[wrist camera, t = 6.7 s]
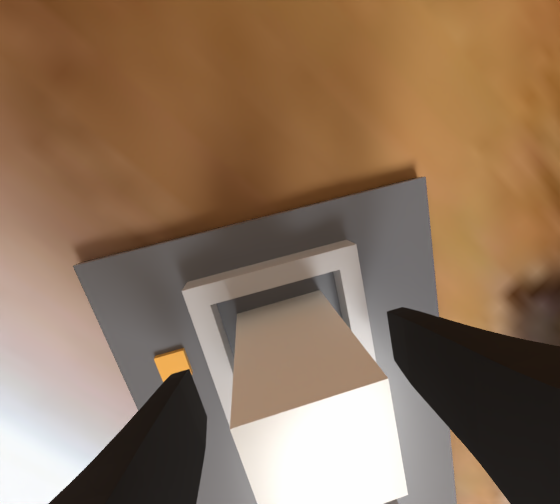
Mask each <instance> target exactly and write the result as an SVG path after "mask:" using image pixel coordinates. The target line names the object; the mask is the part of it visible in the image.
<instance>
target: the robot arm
mask: <svg viewBox="0 0 560 504" xmlns="http://www.w3.org/2000/svg"><path fill="white" fill-rule="evenodd" d="M387 317H388V324H389V331H390V337H391V344H392V351H393V358H394V361H395V362H396V364H397V365H398V367H399V368H400V370H401V371H402V372H403V374H404V375H405V377H406V378H407V380H408V381H409V382H410V384H411V385H412V386H413V387H414V389H415V390H416V391H417V392H418V393H419V394H420V395H421V397H422V398H423V399H424V400H425V401H426V402H427V403H428V405H429V406H430V407H431V408H432V409H433V410H434V411H435V412H436V414H437V415H438V416H439V417H440V418H441V419H442V420H443V421H444V422H445V424H446V425H447V426H448V427H449V428H450V429H451V430H452V431H453V433H454V434H455V435H456V436H457V437H458V438H459V439H460V440H461V442H462V443H463V444H464V445H465V446H466V447H467V448H468V450H469V451H470V452H471V453H472V454H473V456H474V457H475V458H476V459H477V460H478V462H479V463H480V464H481V465H482V467H483V468H484V469H485V471H486V472H487V473H488V475H489V476H490V477H491V478H492V480H493V481H494V482H495V484H496V485H497V486H498V488H499V489H500V490H501V492H502V493H503V494H504V496H505V497H506V498H507V500H508V501H509V502H510V503H511V504H560V347H559V346H554V345H549V344H544V343H539V342H533V341H528V340H524V339H519V338H515V337H510V336H506V335H502V334H498V333H494V332H490V331H486V330H482V329H479V328H475V327H471V326H468V325H464V324H461V323H457V322H454V321H451V320H447V319H444V318H441V317H437V316H434V315H431V314H427V313H424V312H420V311H417V310H413V309H409V308H405V307H401V308H397V309H394V310H390V311H387ZM206 434H207V415H206V412H205V409H204V407H203V404H202V401H201V399H200V396H199V393H198V391H197V388H196V385H195V383H194V380H193V377H192V375H191V372H190V369H187V370H184V371H180V372H177V373H173V374H171V375H170V376H169V377H168V378H167V379H166V380H165V381H164V382H163V383H162V385H161V386H160V387H159V388H158V389H157V390H156V391H155V392H154V394H153V395H152V396H151V397H150V398H149V399H148V401H147V402H146V403H145V404H144V405H143V406H142V407H141V408H140V410H139V411H138V412H137V413H136V414H135V415H134V416H133V418H132V419H131V420H130V421H129V422H128V423H127V424H126V426H125V427H124V428H123V429H122V430H121V431H120V432H119V433H118V434H117V435H116V436H115V437H114V438H113V439H112V441H111V442H110V443H109V444H108V445H107V446H106V447H105V448H104V449H103V450H102V451H101V452H100V453H99V454H98V456H97V457H96V458H95V459H94V460H93V461H92V462H91V463H90V464H89V465H88V466H87V467H86V468H85V469H84V470H83V471H82V472H81V473H80V474H79V475H78V476H77V477H76V478H75V479H74V480H73V481H72V482H71V483H70V484H69V485H68V486H67V487H66V488H65V489H64V490H62V491H61V492H60V493H59V494H58V495H57V496H56V497H55V498H54V499H53V500H52V501H51V502H50V503H49V504H196V503H197V497H198V491H199V486H200V480H201V474H202V468H203V462H204V456H205V449H206Z"/></svg>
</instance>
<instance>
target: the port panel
mask: <svg viewBox="0 0 560 504" xmlns="http://www.w3.org/2000/svg"><path fill="white" fill-rule="evenodd" d="M73 267H74V270H75V272H76V274H77V276H78V278H79V281H80V283H81V285H82V287H83V289H84V292H85V294H86V296H87V298H88V300H89V303H90V305H91V307H92V309H93V311H94V314H95V316H96V318H97V320H98V322H99V325H100V327H101V329H102V331H103V333H104V336H105V338H106V340H107V342H108V344H109V347H110V349H111V351H112V353H113V356H114V358H115V360H116V362H117V364H118V367H119V369H120V371H121V373H122V375H123V378H124V380H125V382H126V384H127V386H128V389H129V391H130V393H131V395H132V397H133V400H134V402H135V404H136V406H137V408H138V411H139V410H140V408H141V407H142V406H143V405H144V404H145V403H146V402H147V401H148V399H149V398H150V397H151V396H152V395H153V394H154V392H155V391H156V390H157V389H158V388H159V387H160V386H161V385H162V383H163V382H164V381H165V380H166V379H167V378H168V377H169V376H170V375H171V374H173V373H177V372H180V371H184V370H187V369H190V372H191V375H192V377H193V380H194V383H195V385H196V388H197V391H198V393H199V396H200V399H201V401H202V404H203V407H204V409H205V412H206V415H207V434H206V449H205V456H204V462H203V468H202V474H201V480H200V486H199V491H198V497H197V503H196V504H257V502H256V499H255V496H254V493H253V491H252V488H251V485H250V483H249V480H248V477H247V474H246V472H245V469H244V466H243V464H242V461H241V458H240V455H239V453H238V450H237V447H236V445H235V442H234V439H233V436H232V434H231V431H230V418H231V402H232V386H233V370H234V354H235V338H236V322H237V314H238V313H242V312H245V311H249V310H252V309H255V308H259V307H262V306H266V305H269V304H273V303H276V302H280V301H283V300H287V299H290V298H294V297H297V296H301V295H304V294H308V293H311V292H314V291H318V290H320V291H321V292H322V294H323V295H324V296H325V297H326V299H327V300H328V301H329V303H330V304H331V305H332V307H333V308H334V309H335V310H336V312H337V313H338V314H339V316H340V317H341V318H342V319H343V321H344V322H345V323H346V325H347V326H348V327H349V328H350V330H351V331H352V332H353V334H354V335H355V336H356V337H357V339H358V340H359V341H360V343H361V344H362V345H363V346H364V348H365V349H366V350H367V352H368V353H369V354H370V355H371V357H372V358H373V359H374V361H375V362H376V363H377V365H378V366H379V367H380V368H381V370H382V371H383V372H384V374H385V375H386V376H387V377H388V379H389V385H390V391H391V397H392V403H393V409H394V415H395V421H396V426H397V432H398V438H399V444H400V450H401V456H402V462H403V468H404V474H405V479H406V485H407V491H408V495H406V496H403V497H401V498H398V499H395V500H392V501H389V502H386V503H384V504H457V501H456V490H455V480H454V470H453V459H452V449H451V438H450V428H449V427H448V426H447V425H446V424H445V422H444V421H443V420H442V419H441V418H440V417H439V416H438V415H437V414H436V412H435V411H434V410H433V409H432V408H431V407H430V406H429V405H428V403H427V402H426V401H425V400H424V399H423V398H422V397H421V395H420V394H419V393H418V392H417V391H416V390H415V389H414V387H413V386H412V385H411V384H410V382H409V381H408V380H407V378H406V377H405V375H404V374H403V372H402V371H401V370H400V368H399V367H398V365H397V364H396V362H395V361H394V358H393V351H392V344H391V337H390V331H389V324H388V317H387V311H390V310H394V309H397V308H401V307H405V308H409V309H413V310H417V311H420V312H424V313H427V314H431V315H434V316H437V317H439V313H438V302H437V292H436V281H435V271H434V260H433V250H432V239H431V229H430V218H429V208H428V198H427V187H426V177H417V178H413V179H409V180H405V181H401V182H398V183H394V184H390V185H386V186H382V187H378V188H374V189H370V190H366V191H362V192H358V193H354V194H350V195H346V196H342V197H338V198H334V199H330V200H326V201H322V202H318V203H314V204H311V205H307V206H303V207H299V208H295V209H291V210H287V211H283V212H279V213H275V214H271V215H267V216H263V217H259V218H255V219H251V220H247V221H243V222H239V223H235V224H231V225H228V226H224V227H220V228H216V229H212V230H208V231H204V232H200V233H196V234H192V235H188V236H184V237H180V238H176V239H172V240H168V241H164V242H160V243H156V244H152V245H148V246H144V247H141V248H137V249H133V250H129V251H125V252H121V253H117V254H113V255H109V256H105V257H101V258H97V259H93V260H89V261H85V262H81V263H79V264H76V265H74V266H73Z"/></svg>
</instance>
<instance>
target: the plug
mask: <svg viewBox="0 0 560 504" xmlns="http://www.w3.org/2000/svg"><path fill="white" fill-rule="evenodd" d="M230 431H231V434H232V436H233V439H234V442H235V445H236V447H237V450H238V453H239V455H240V458H241V461H242V464H243V466H244V469H245V472H246V474H247V477H248V480H249V483H250V485H251V488H252V491H253V493H254V496H255V499H256V502H257V504H384V503H386V502H389V501H392V500H395V499H398V498H401V497H403V496H406V495H408V491H407V485H406V479H405V474H404V468H403V462H402V456H401V450H400V444H399V438H398V432H397V426H396V421H395V415H394V409H393V403H392V397H391V391H390V385H389V379H388V377H387V376H386V375H385V374H384V372H383V371H382V370H381V368H380V367H379V366H378V365H377V363H376V362H375V361H374V359H373V358H372V357H371V355H370V354H369V353H368V352H367V350H366V349H365V348H364V346H363V345H362V344H361V343H360V341H359V340H358V339H357V337H356V336H355V335H354V334H353V332H352V331H351V330H350V328H349V327H348V326H347V325H346V323H345V322H344V321H343V319H342V318H341V317H340V316H339V314H338V313H337V312H336V310H335V309H334V308H333V307H332V305H331V304H330V303H329V301H328V300H327V299H326V297H325V296H324V295H323V294H322V292H321V291H320V290H318V291H314V292H311V293H308V294H304V295H301V296H297V297H294V298H290V299H287V300H283V301H280V302H276V303H273V304H269V305H266V306H262V307H259V308H255V309H252V310H249V311H245V312H242V313H238V314H237V322H236V338H235V354H234V370H233V386H232V402H231V418H230Z"/></svg>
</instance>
